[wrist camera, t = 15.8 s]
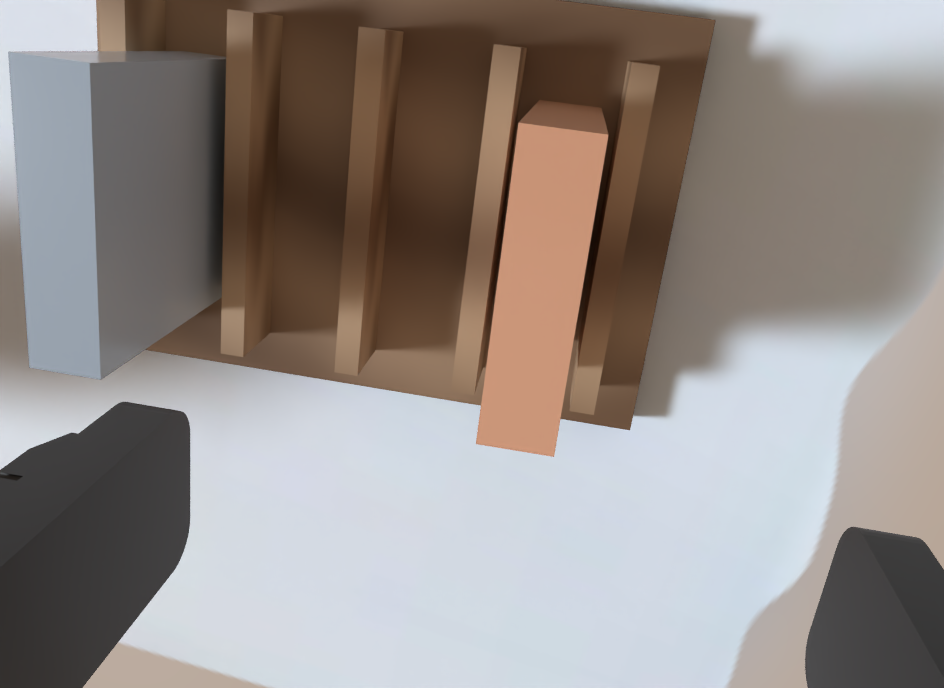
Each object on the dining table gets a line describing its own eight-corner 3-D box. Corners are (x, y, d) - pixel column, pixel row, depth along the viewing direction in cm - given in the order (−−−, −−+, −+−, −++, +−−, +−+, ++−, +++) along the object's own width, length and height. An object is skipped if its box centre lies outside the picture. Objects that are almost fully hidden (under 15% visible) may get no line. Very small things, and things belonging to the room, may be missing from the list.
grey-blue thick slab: (182, 50, 28) (8, 51, 19) (240, 58, 28) (89, 62, 19) (182, 280, 31) (29, 367, 22) (234, 288, 30) (100, 379, 22)
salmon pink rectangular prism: (539, 99, 27) (518, 122, 19) (601, 107, 27) (608, 134, 18) (507, 331, 30) (476, 443, 21) (563, 340, 30) (554, 456, 21)
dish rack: (114, -55, 28) (45, -70, 25) (710, 21, 27) (729, 16, 23) (123, 333, 33) (67, 367, 29) (628, 416, 31) (633, 463, 28)
